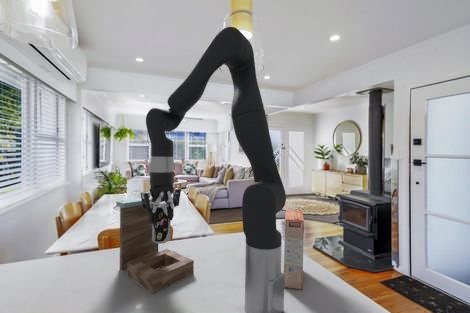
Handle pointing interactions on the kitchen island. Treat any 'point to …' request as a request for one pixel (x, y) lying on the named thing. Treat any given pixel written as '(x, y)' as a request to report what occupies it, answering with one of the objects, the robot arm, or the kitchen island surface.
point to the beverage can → (161, 224)
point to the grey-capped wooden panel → (134, 232)
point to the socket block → (158, 280)
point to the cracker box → (293, 249)
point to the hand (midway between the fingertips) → (161, 221)
